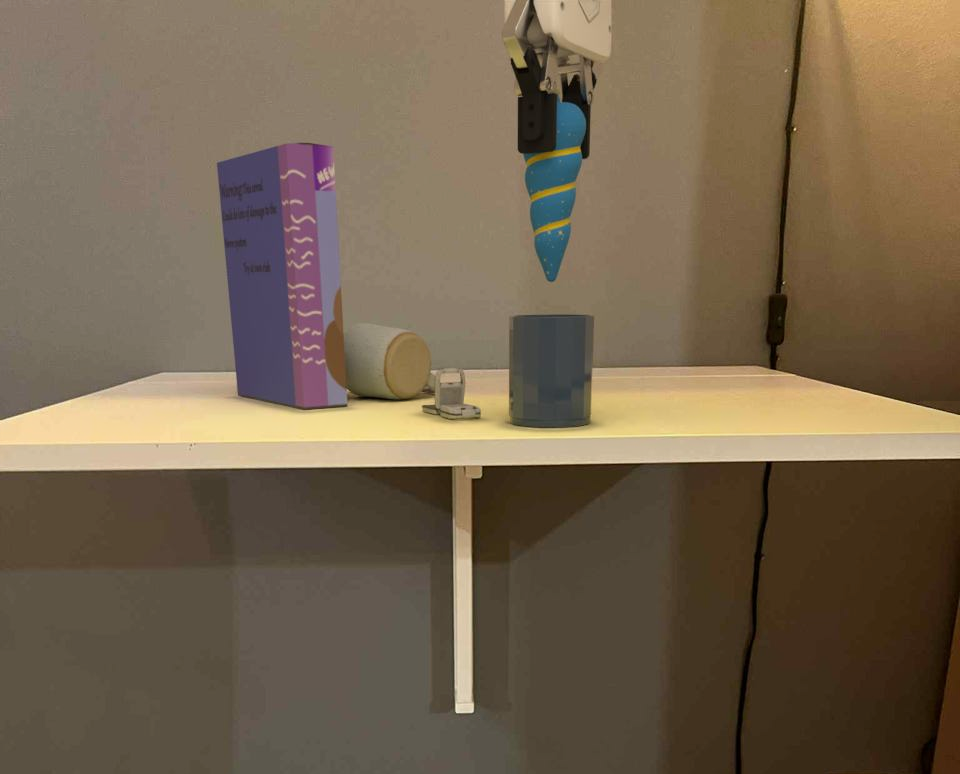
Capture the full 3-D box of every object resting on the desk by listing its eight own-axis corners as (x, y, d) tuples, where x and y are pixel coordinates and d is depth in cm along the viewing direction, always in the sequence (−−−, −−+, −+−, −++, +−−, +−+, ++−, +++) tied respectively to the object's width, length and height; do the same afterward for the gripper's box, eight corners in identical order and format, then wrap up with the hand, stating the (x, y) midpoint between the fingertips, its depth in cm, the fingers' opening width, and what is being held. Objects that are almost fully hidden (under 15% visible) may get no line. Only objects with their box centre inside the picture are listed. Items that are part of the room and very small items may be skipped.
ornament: (573, 281, 86) (577, 88, 81) (589, 281, 81) (595, 76, 76) (515, 282, 85) (516, 87, 80) (528, 282, 81) (530, 74, 76)
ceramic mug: (388, 403, 102) (386, 325, 99) (336, 397, 107) (332, 323, 104) (457, 396, 109) (457, 323, 107) (405, 391, 114) (404, 322, 112)
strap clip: (484, 419, 90) (483, 370, 88) (453, 420, 89) (453, 372, 87) (447, 409, 97) (447, 364, 96) (419, 410, 96) (418, 365, 95)
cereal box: (347, 406, 100) (333, 144, 92) (304, 409, 97) (285, 140, 89) (277, 392, 114) (259, 163, 105) (238, 395, 111) (216, 160, 103)
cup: (604, 419, 88) (607, 314, 85) (567, 429, 83) (570, 317, 80) (534, 415, 92) (535, 314, 89) (494, 424, 86) (494, 316, 83)
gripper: (549, -164, 65) (545, 140, 71) (649, -88, 79) (638, 162, 85) (454, -139, 69) (458, 148, 75) (565, -70, 83) (561, 168, 89)
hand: (554, 153), depth 80 cm, fingers closed on ornament, 5 cm apart
